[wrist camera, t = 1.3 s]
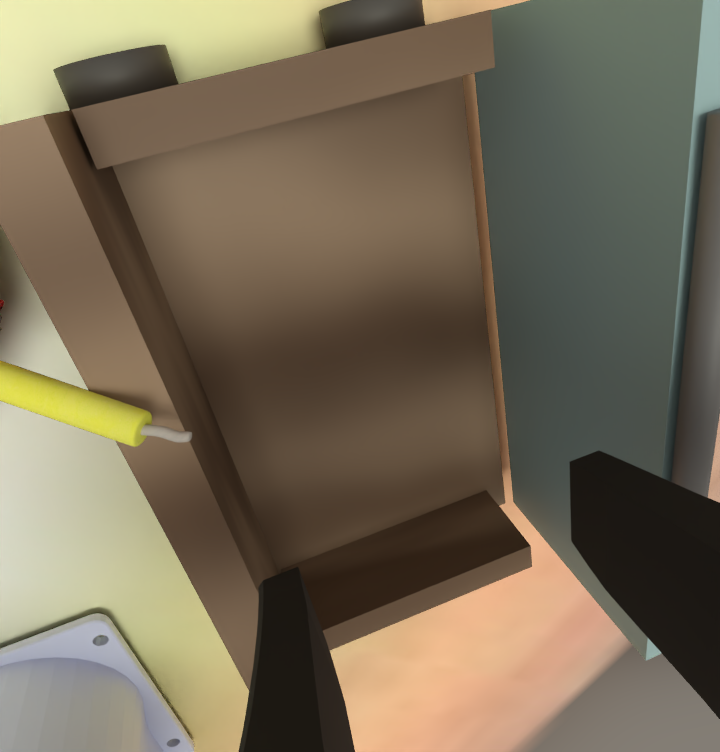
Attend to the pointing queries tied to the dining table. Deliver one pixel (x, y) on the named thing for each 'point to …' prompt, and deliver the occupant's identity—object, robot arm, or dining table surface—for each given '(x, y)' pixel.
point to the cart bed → (285, 310)
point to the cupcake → (80, 407)
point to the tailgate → (604, 247)
